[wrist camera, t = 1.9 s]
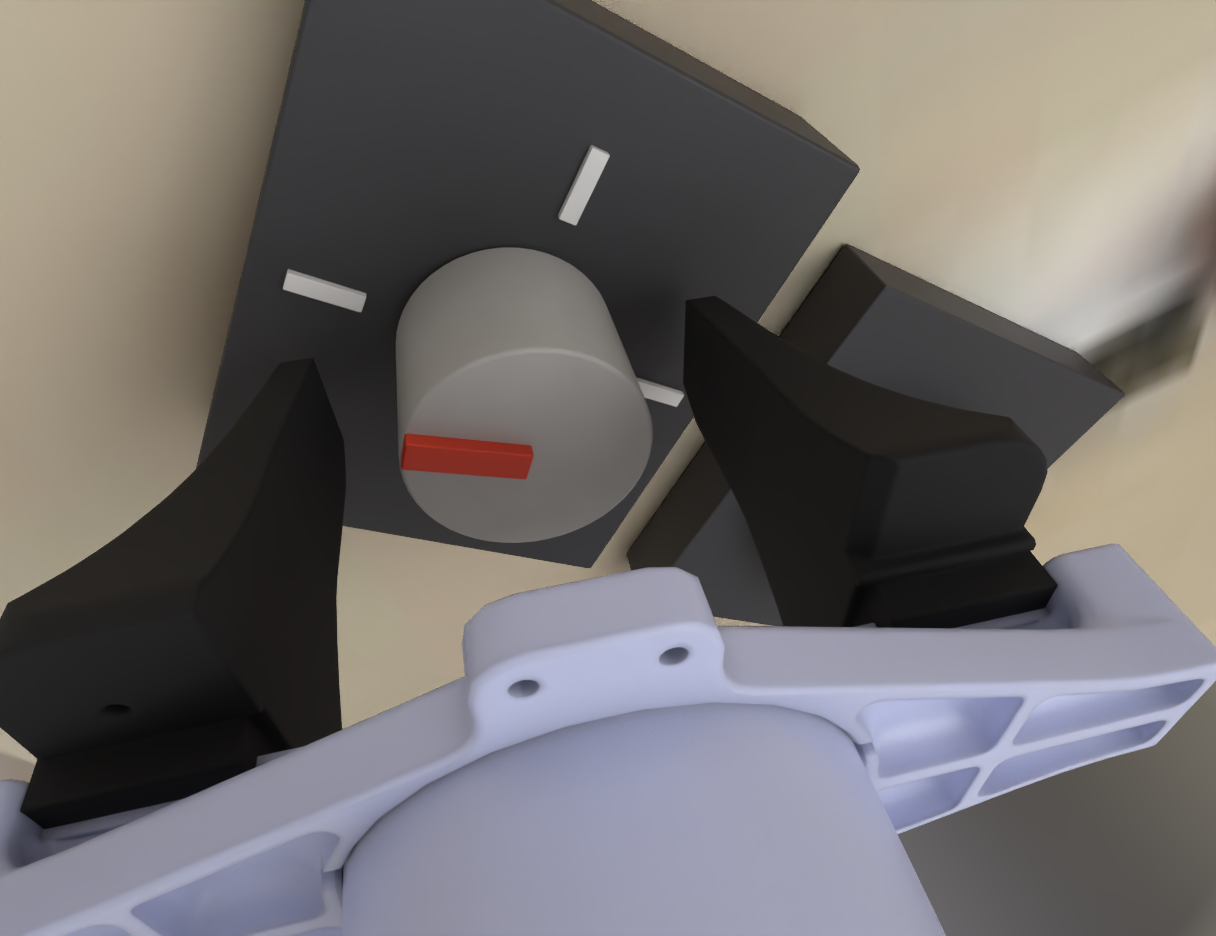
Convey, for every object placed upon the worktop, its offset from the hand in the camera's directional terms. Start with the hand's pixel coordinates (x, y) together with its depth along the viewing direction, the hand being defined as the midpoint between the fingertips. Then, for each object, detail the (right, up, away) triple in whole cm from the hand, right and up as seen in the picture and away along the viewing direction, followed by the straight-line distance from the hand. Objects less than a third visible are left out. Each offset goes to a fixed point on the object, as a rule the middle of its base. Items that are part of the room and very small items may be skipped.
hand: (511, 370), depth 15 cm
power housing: (+10, -2, +10) cm, 14 cm away
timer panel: (-1, +3, +3) cm, 4 cm away
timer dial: (0, +1, +1) cm, 1 cm away
